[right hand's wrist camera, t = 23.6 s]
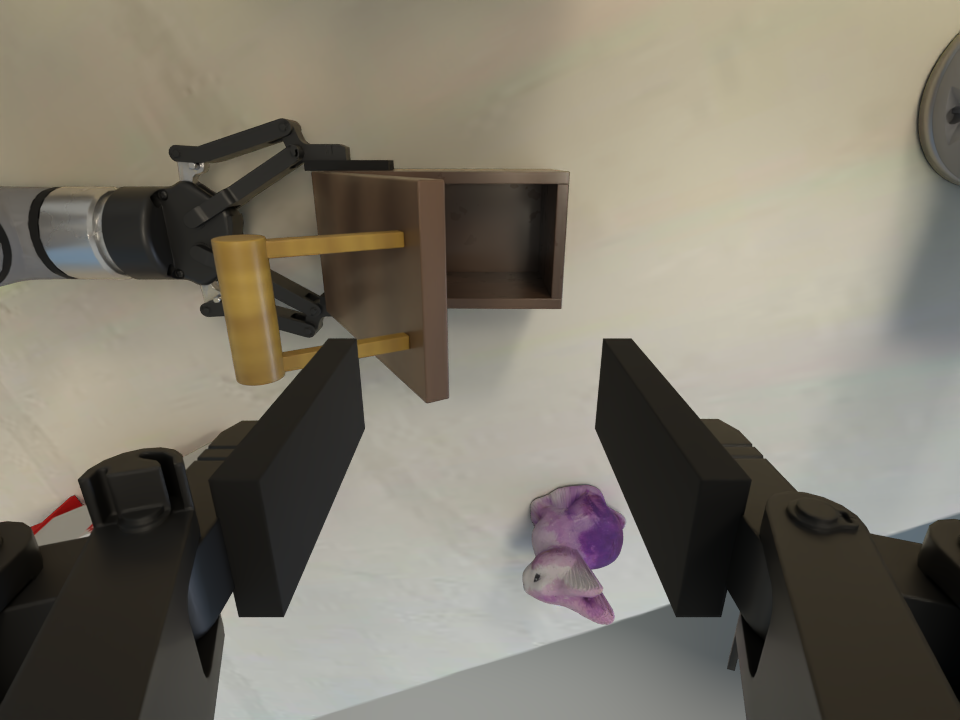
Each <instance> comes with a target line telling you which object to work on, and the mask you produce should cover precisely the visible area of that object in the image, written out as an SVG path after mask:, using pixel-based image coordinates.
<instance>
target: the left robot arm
mask: <svg viewBox="0 0 960 720" xmlns="http://www.w3.org/2000/svg"><path fill="white" fill-rule="evenodd" d="M283 141H284V144H285V146H286V148H285V149H284V150H282V151H281V152H279V153H278V154H276V155H275V156H273V157H272V158H270V159H269V160H267V161H266V162H265V163H263V164H262V165H260V166H259V167H257V168H256V169H254V170H253V171H251V172H250V173H248V174H247V175H246V176H244V177H243V178H241V179H240V180H238V181H237V182H235V183H234V184H232V185H231V186H229V187H228V188H226V189H223V190H221V191H220V192H218V193H217V194H216V193H215V192H213V191H212V190H210V189H209V188H207V187H206V186H204V185H203V184H201V183H200V182H198V177H199V176H200V175H201V174H203V173H206V172H208V170H209V168H210V164H209V163H217V162H222V161H226V160H229V159H232V158H235V157H238V156H241V155H244V154H247V153H250V152H253V151H256V150H259V149H262V148H265V147H268V146H271V145H274V144H277V143H280V142H283ZM169 155H170V157H171V158H172V159H173V160H174V161H177V163H178V170H179V177H180V181H179V182H177V183H176V184H175V185H173V186H170V187H121V188H116V187H53V188H40V187H0V286H4V285H8V284H12V283H15V282H20V281H25V280H36V279H112V280H126V279H132V278H135V279H184V280H189V281H192V282H194V283H196V284H199V285H200V286H201V290H202V293H203V297H204V301H205V303H204V304H202V305H201V307H200V311H201V313H202V314H203V315H204V316H206V317H215V316H225V315H224V310H223V304H222V299H221V293H220V288H219V286H218V284H217V282H216V281H218V277H217V272H216V266H215V261H214V255H213V250H212V245H211V239H213V238H216V237H221V236H229V235H243V217H242V214H239V212H238V210H237V209H238V208H240V207H241V206H243V205H244V204H246V203H247V202H249V201H250V199H251V198H253V197H254V196H256V195H257V194H259V193H260V192H262V191H263V190H265V189H266V188H268V187H269V186H271V185H272V184H274V183H275V182H277V181H278V180H280V179H281V178H283V177H284V176H286V175H287V174H289V173H290V172H292V171H293V170H295V169H296V168H298V167H299V166H301V165H302V164H304V168H305V171H333V170H394V162H393V160H350V149H349V147H347V146H344V145H340V144H309V143H308V142H306V140H305V139H304V137H303V135H302V133H301V126H300V125H299V123H297V122H296V121H292V120H288V119H283V118H282V119H277V120H274V121H271V122H269V123H266V124H263V125H260V126H257V127H254V128H251V129H248V130H245V131H242V132H239V133H236V134H233V135H230V136H227V137H224V138H221V139H218V140H215V141H212V142H210V143H207V144H204V145H201V146H183V145H173V146H171V147H170V149H169ZM270 271H271V278H272V285H273V292H274V298H276V299H278V300H280V301H282V302H283V303H285V304H287V305H289V306H291V307H293V308H295V309H297V310H299V311H301V312H298V311H295V310H291V309H287V308H284V307H280V306H276V305H275V306H276V312H277V319H278V326H279V330H282V331H286V332H290V333H293V334H297V335H301V336H304V337H309V338H310V337H313V336H314V335H315V334H316V333H317V332H318V331H319V330H320V329H321V327H322V326H323V319H324V317H325V316H331V315H330V314H329V313H328V312H327V310H326V301H325V292H324V293H323V294H322V295H321V296H319V295H317V294H316V293H314V292H312V291H310V290H308V289H306V288H304V287H302V286H301V285H299V284H297V283H295V282H293V281H291V280H289V279H288V278H286V277H284V276H282V275H280V274H278V273H276V272H274V271H273V270H271V269H270Z"/></svg>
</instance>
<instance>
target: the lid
mask: <svg viewBox="0 0 960 720" xmlns="http://www.w3.org/2000/svg"><path fill="white" fill-rule="evenodd" d="M311 174H312V183H313V192H314V201H315V210H316V219H317V228H318V236H303V237H288V238H273V239H266V238H265V236H262V235H229V236H221V237H216V238H213V239H211V245H212V250H213V255H214V261H215V266H216V272H217V277H218V282H219V288H220V293H221V299H222V304H223V310H224V315H225V320H226V326H227V331H228V337H229V342H230V348H231V353H232V358H233V364H234V369H235V375H236V380H237V382H238V383H240V384H243V385H249V386H255V385H264V384H269V383H272V382H275V381H278V380H280V379H281V378H283V377H284V375H285V372H286V371H292V370H297V369H303V368H304V367H305V366H306V364H307V363H308V362H309V361H310V360H311V359H312V357H313V356H314V355H315V354H316V353H317V352H318V350H319V349H320V348H321V347H322V346H317V347H311V348H305V349H299V350H293V351H287V352H282V347H281V340H280V333H279V326H278V319H277V312H276V306H275V299H274V292H273V285H272V278H271V271H270V265H269V259H270V258H282V257H294V256H306V255H318V254H320V256H321V265H322V274H323V283H324V292H325V301H326V310H327V312H328V313H329V314H330V315H331V316H332V317H333V318H335V319H336V320H337V321H338V322H339V323H340V324H341V325H342V326H343V327H344V328H345V329H346V330H348V331H349V332H350V333H351V334H352V335H353V336H354V337H355V338H356V339H357V346H358V357H359V358H363V357H369V356H374V355H375V356H376V357H377V358H378V359H379V360H380V361H381V362H382V363H383V364H384V365H385V366H387V367H388V368H389V369H390V370H391V371H392V372H393V373H394V374H395V375H396V376H397V377H398V378H400V379H401V380H402V381H403V382H404V383H405V384H406V385H407V386H408V387H409V388H410V389H411V390H413V391H414V392H415V393H416V394H417V395H418V396H419V397H420V398H421V399H422V400H423V401H424V402H426V403H431V402H435V401H439V400H444V399H448V398H449V370H448V325H447V279H446V234H445V188H444V180H442V179H429V178H415V177H401V176H387V175H373V174H359V173H344V172H330V171H313V172H312V173H311Z"/></svg>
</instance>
